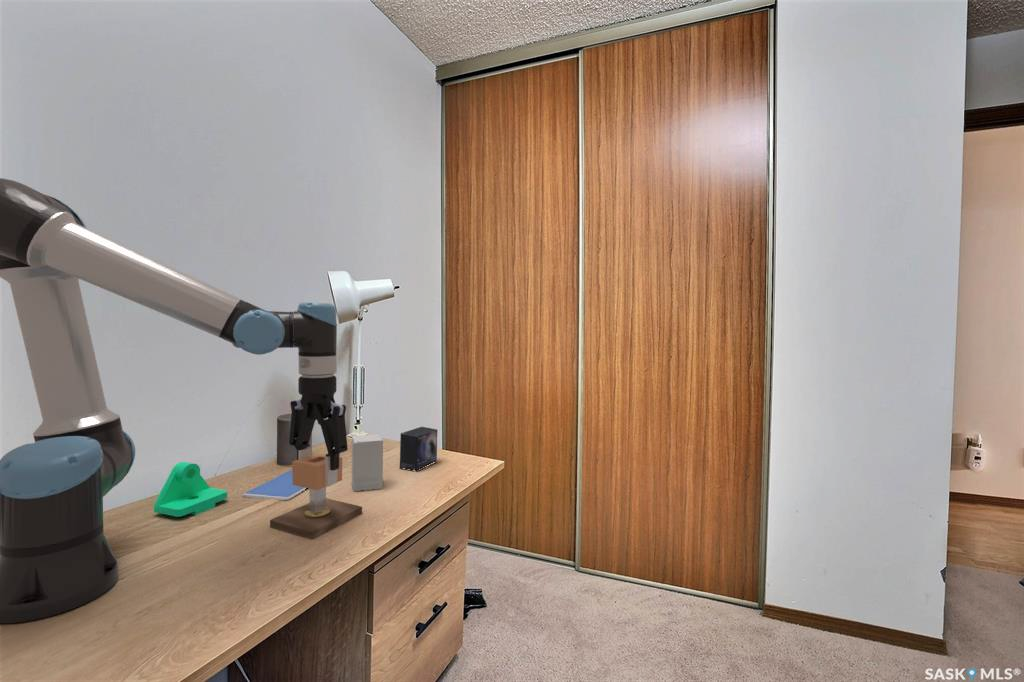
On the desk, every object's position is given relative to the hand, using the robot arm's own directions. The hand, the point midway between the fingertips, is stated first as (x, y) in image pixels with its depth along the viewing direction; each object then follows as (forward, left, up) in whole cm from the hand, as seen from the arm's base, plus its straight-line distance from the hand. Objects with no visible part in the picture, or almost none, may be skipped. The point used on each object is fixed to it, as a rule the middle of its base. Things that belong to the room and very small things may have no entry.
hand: (317, 481), depth 102 cm
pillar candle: (+27, +38, -9) cm, 47 cm away
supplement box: (+21, +5, -9) cm, 23 cm away
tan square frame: (0, 0, 0) cm, 0 cm away
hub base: (0, 0, -8) cm, 8 cm away
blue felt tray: (+12, +23, -9) cm, 27 cm away
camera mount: (-8, +30, -9) cm, 32 cm away
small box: (+41, +3, -9) cm, 42 cm away
